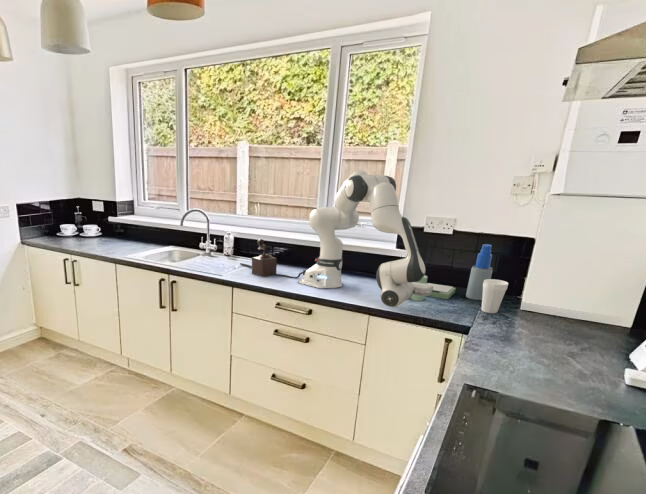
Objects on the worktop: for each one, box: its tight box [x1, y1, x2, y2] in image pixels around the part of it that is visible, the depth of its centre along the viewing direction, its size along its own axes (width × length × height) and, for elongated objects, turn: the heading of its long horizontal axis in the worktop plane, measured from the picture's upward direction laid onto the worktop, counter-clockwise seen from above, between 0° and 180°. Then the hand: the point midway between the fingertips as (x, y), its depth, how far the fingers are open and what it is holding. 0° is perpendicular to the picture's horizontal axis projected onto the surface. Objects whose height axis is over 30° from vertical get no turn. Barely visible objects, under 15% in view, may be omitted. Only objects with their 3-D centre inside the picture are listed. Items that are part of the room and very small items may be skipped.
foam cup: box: [480, 278, 509, 314], centre depth 198 cm, size 10×9×13 cm
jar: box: [409, 274, 429, 302], centre depth 214 cm, size 6×6×11 cm
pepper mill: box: [251, 238, 278, 278], centre depth 258 cm, size 16×11×18 cm
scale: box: [426, 282, 456, 300], centre depth 224 cm, size 14×14×3 cm
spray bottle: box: [465, 243, 494, 301], centre depth 214 cm, size 9×9×25 cm
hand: (412, 283), depth 203 cm, fingers open, 8 cm apart
